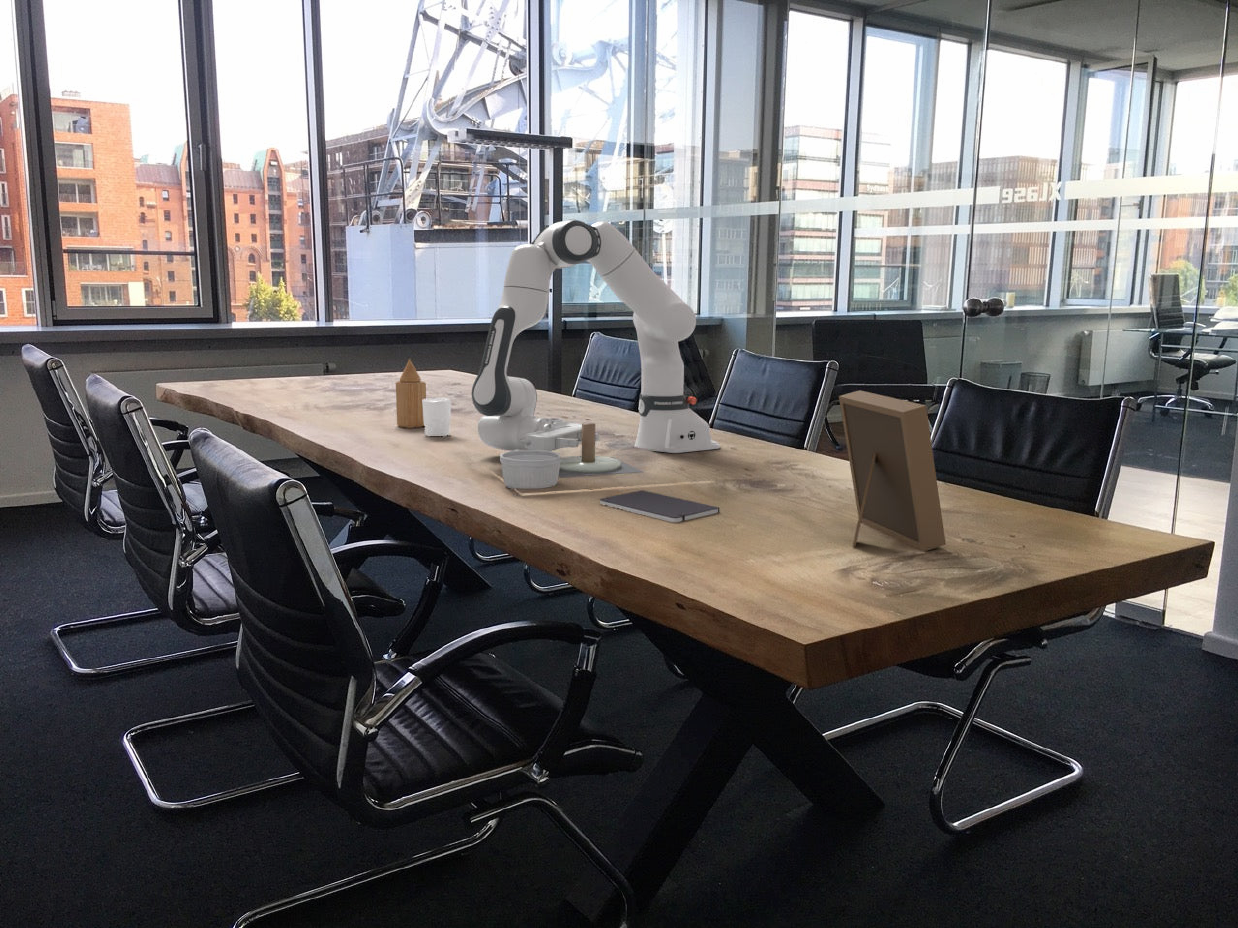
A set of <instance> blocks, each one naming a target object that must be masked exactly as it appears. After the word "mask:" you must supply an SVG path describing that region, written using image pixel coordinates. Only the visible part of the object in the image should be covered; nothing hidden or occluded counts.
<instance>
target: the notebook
mask: <svg viewBox="0 0 1238 928" xmlns="http://www.w3.org/2000/svg"><path fill="white" fill-rule="evenodd" d="M599 501H600V505H601V504H604V505H603V506H605V505H608V506H607V507H609V506H611V507H610V508H613V507H615V508H614V509H617V508H619V509H618V510H621V509H623V510H622V511H625V510H626V511H625V512H629V511H630V512H629V513H634V514H637V515H641V514H642V515H641V516H645V515H646V517H649V518H653V519H657V520H662V521H665V522H670V523H680V522H686V521H688V520H692V519H698V518H702V517H705V516H709V515H714V514H718V513H720V506H714V505H709V504H705V503H700V502H696V501H692V500H687V499H682V498H679V497H674V496H671V495H670V496H669V495H666V494H661V493H656V492H652V491H648V490H642V489H641V490H636V491H632V492H627V493H622V494H621V493H620V494H618V495H617V494H616V495H613V496H612V495H611V496H607V497H602V498H599Z"/></svg>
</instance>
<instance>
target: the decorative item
mask: <svg viewBox="0 0 1238 928" xmlns="http://www.w3.org/2000/svg"><path fill="white" fill-rule="evenodd" d="M421 380H422V379H421V376H420V375H419V374H418V371H417V370H416V367H415V366H414V363H413V362H412V360H411V358H409V359H408V361H407V363H406V366H405V368H404V369H403V371H402V373H401V375H400V378H399V380H398V381H396V383H395V397H396V398H395V400H396V401H395V402H396V425H397V426H398V427H401V428H405V427H406V428H405V429H413V428H414V427H416V428H423V427H422V426H424V420H423V406H422V400H423V399H427V383H426V382H425V381H421Z"/></svg>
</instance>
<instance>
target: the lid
mask: <svg viewBox="0 0 1238 928" xmlns="http://www.w3.org/2000/svg"><path fill="white" fill-rule="evenodd" d="M581 424H582V443H581V455H573V456H567V457H561V462H560V470H564V471H569V472H578V473H600V472H609V471H614V470H617V469H619V468H620V461H621V460H620V459H618V458H616V459H614V458H615V457H614V458H610V457H611V456H602V455H601V456H599V455H598V456H597V455H596V442H595V433H596V423H595V422H582V423H581ZM617 459H618V460H617ZM619 460H620V461H619Z"/></svg>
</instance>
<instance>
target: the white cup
mask: <svg viewBox="0 0 1238 928" xmlns="http://www.w3.org/2000/svg"><path fill="white" fill-rule="evenodd" d="M451 403H452V399H451V398H447V397H446V398H445V397H429V398H428V397H426V399H423V400H422V406H423V420H424V426H425V427H424V435H425V437H430V436H443V437H447V435H448V436H449V435H450V430H451V429H450V426H451V408H452V407H451V406H452V405H451Z"/></svg>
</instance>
